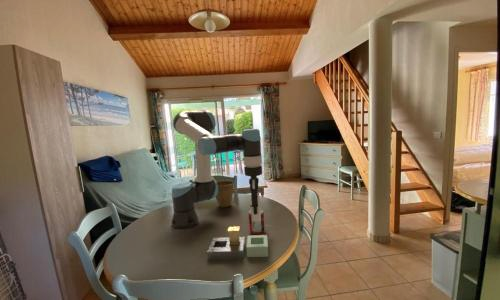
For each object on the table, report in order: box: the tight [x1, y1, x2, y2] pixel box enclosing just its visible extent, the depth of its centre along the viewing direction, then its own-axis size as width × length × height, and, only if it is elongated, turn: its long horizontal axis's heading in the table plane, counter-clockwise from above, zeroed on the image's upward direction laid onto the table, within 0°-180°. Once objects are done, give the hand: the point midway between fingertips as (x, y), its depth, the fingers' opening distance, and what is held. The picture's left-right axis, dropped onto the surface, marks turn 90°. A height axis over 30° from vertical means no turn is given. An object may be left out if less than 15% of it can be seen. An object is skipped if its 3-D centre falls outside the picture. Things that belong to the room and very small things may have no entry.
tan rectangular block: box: [227, 226, 241, 246], centre depth 104 cm, size 4×5×10 cm
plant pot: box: [215, 180, 235, 208], centre depth 162 cm, size 15×15×16 cm
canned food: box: [248, 208, 265, 235], centre depth 122 cm, size 8×8×11 cm
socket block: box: [206, 236, 246, 261], centre depth 105 cm, size 12×15×4 cm
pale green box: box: [245, 234, 269, 258], centre depth 104 cm, size 10×9×4 cm
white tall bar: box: [250, 193, 261, 232], centre depth 102 cm, size 4×4×17 cm
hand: (256, 218), depth 102 cm, fingers closed on white tall bar, 4 cm apart
